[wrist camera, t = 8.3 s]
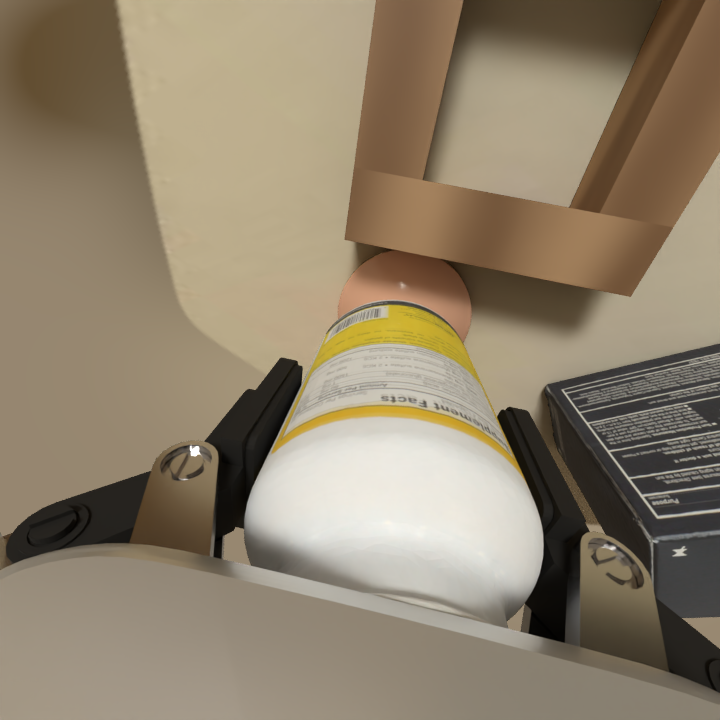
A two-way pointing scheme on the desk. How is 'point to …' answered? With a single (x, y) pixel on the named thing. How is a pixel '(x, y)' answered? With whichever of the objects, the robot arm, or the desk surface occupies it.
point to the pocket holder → (525, 217)
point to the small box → (652, 467)
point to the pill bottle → (397, 474)
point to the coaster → (410, 286)
